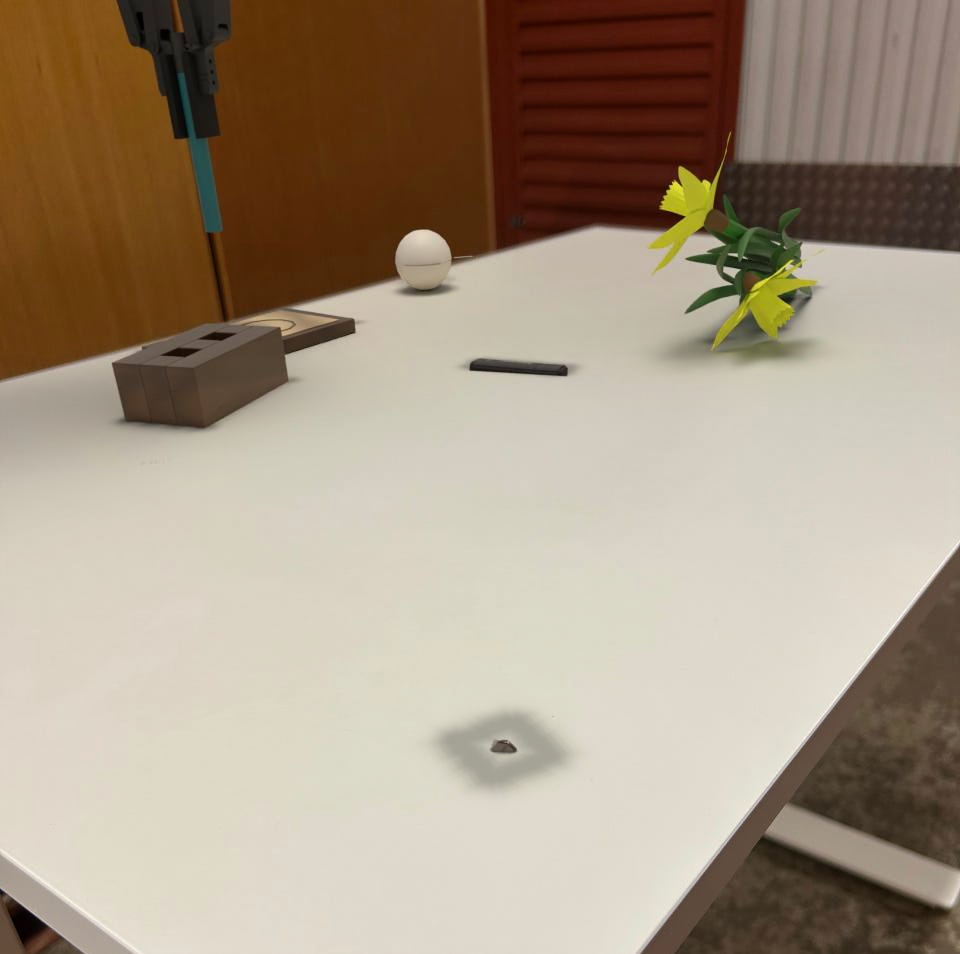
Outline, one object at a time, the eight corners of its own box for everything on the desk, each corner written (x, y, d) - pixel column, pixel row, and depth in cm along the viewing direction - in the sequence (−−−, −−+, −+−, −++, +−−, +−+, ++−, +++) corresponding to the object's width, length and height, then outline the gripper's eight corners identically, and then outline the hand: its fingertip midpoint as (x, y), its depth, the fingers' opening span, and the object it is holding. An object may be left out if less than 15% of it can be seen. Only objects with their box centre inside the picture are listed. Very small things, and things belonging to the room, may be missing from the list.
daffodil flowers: (879, 309, 113) (825, 284, 83) (759, 370, 120) (670, 367, 91) (821, 171, 112) (745, 97, 83) (704, 242, 120) (596, 197, 90)
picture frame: (213, 376, 99) (210, 359, 98) (144, 360, 106) (140, 344, 105) (356, 332, 112) (354, 317, 111) (286, 320, 119) (284, 306, 118)
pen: (201, 232, 93) (164, 33, 85) (212, 229, 94) (176, 33, 86) (216, 232, 92) (180, 32, 84) (227, 229, 94) (193, 31, 86)
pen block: (127, 432, 86) (111, 362, 82) (217, 386, 96) (205, 323, 93) (207, 439, 83) (193, 368, 80) (290, 391, 94) (280, 326, 91)
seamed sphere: (390, 295, 128) (384, 235, 124) (407, 283, 134) (402, 225, 130) (464, 295, 126) (461, 234, 122) (479, 283, 132) (476, 224, 128)
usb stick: (570, 377, 93) (570, 361, 92) (560, 386, 91) (560, 369, 90) (479, 370, 96) (478, 354, 96) (467, 378, 94) (466, 361, 94)
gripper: (243, -206, 78) (289, 131, 90) (95, -180, 83) (157, 135, 95) (185, -224, 72) (242, 139, 84) (30, -195, 77) (105, 143, 89)
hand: (197, 136), depth 89 cm, fingers closed on pen, 2 cm apart
